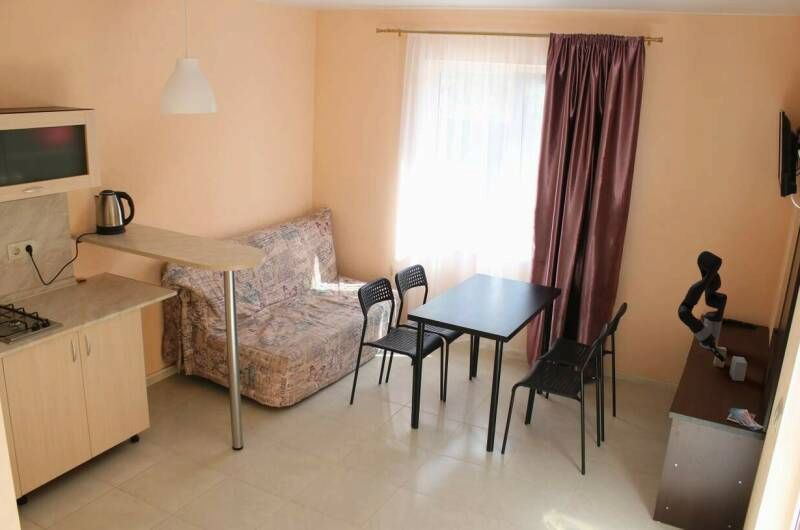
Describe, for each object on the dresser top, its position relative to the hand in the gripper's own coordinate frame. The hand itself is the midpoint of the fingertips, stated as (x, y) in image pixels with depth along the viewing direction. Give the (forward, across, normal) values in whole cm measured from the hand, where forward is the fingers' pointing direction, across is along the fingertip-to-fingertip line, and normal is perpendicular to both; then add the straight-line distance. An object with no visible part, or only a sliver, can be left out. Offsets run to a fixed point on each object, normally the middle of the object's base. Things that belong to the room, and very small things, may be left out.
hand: (722, 357), depth 389 cm
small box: (+7, -13, 0) cm, 15 cm away
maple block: (+2, 0, +4) cm, 5 cm away
